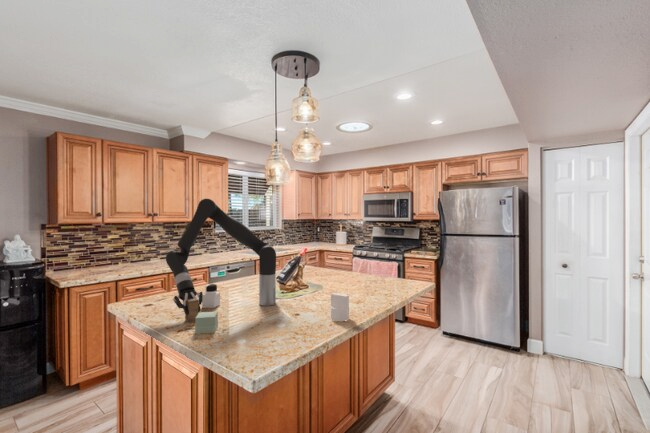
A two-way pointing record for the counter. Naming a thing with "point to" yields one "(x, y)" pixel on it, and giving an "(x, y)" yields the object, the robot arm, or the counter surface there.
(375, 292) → the counter surface
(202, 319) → the sage slab upper
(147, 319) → the counter surface
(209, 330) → the sage slab lower
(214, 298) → the medicine bottle
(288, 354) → the counter surface
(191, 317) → the walnut block
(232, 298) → the counter surface
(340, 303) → the light grey block
